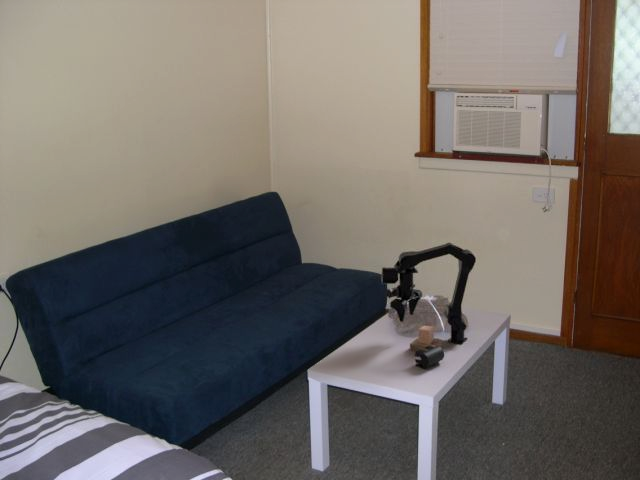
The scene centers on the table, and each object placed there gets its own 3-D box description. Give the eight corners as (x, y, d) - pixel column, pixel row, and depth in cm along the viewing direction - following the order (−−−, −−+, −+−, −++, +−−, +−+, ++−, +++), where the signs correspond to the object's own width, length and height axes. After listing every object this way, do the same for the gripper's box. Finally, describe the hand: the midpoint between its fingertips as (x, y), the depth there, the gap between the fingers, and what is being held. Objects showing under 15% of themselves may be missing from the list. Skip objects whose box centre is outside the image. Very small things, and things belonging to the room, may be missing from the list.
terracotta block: (423, 338, 319) (423, 325, 317) (433, 340, 316) (433, 327, 315) (419, 342, 315) (419, 329, 313) (429, 344, 313) (429, 330, 311)
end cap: (428, 371, 295) (428, 355, 293) (414, 366, 300) (414, 350, 298) (444, 363, 301) (444, 347, 300) (430, 358, 306) (430, 343, 305)
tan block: (420, 342, 323) (420, 335, 322) (442, 346, 318) (442, 339, 317) (410, 350, 315) (410, 343, 314) (432, 355, 310) (432, 348, 309)
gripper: (399, 274, 328) (399, 308, 332) (378, 286, 313) (379, 322, 317) (422, 277, 322) (422, 312, 326) (402, 290, 307) (403, 326, 311)
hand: (406, 318), depth 320 cm, fingers open, 9 cm apart
